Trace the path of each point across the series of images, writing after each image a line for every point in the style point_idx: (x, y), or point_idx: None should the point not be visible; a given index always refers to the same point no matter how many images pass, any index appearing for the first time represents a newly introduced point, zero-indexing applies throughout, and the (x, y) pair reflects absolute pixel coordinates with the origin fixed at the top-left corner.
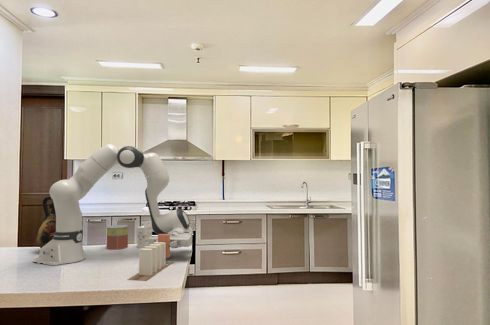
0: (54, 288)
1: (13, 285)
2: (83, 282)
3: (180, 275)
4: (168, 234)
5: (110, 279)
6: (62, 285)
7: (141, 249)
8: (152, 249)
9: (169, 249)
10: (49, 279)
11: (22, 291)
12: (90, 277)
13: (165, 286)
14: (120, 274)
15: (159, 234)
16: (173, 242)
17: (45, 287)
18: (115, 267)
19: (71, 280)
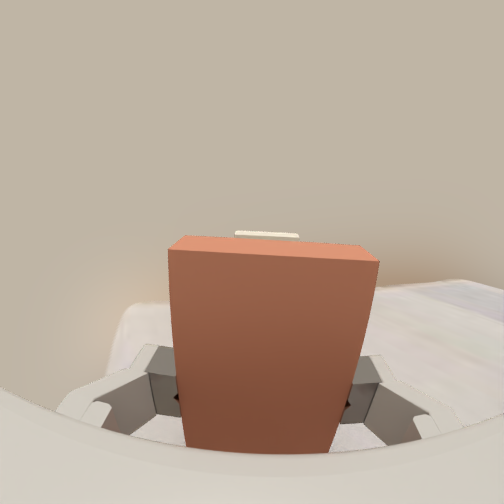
0: (426, 292)
1: (494, 291)
2: (415, 312)
3: (112, 368)
4: (186, 241)
5: (373, 332)
6: (432, 299)
7: (285, 233)
8: (234, 236)
9: (187, 432)
10: (494, 310)
11: (451, 282)
12: (442, 332)
13: (161, 308)
14: (390, 364)
15: (342, 246)
16: (121, 374)
17: (445, 292)
18: (494, 407)
19: (454, 314)
